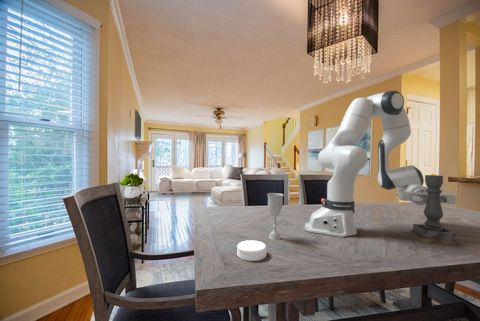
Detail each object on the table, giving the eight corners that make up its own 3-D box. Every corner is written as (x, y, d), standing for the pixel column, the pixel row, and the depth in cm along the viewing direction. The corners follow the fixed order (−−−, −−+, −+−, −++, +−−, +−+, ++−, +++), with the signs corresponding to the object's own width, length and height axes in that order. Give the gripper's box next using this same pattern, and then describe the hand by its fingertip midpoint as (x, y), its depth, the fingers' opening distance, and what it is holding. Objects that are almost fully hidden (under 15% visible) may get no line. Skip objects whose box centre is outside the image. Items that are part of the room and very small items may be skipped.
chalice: (262, 236, 95) (263, 193, 95) (276, 233, 98) (276, 192, 98) (273, 241, 88) (273, 196, 88) (286, 239, 91) (287, 195, 91)
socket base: (422, 242, 89) (422, 231, 89) (409, 233, 101) (410, 223, 101) (460, 246, 86) (460, 234, 86) (442, 236, 97) (442, 225, 97)
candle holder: (446, 238, 90) (448, 176, 90) (429, 237, 91) (430, 176, 91) (436, 233, 96) (437, 175, 96) (419, 232, 97) (420, 175, 97)
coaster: (240, 248, 82) (240, 238, 82) (267, 250, 80) (268, 241, 80) (233, 259, 73) (233, 249, 73) (264, 263, 70) (264, 252, 70)
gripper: (393, 187, 109) (405, 191, 95) (445, 189, 103) (465, 193, 89) (393, 200, 109) (405, 205, 96) (445, 203, 103) (465, 209, 89)
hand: (434, 200), depth 92 cm, fingers open, 8 cm apart
